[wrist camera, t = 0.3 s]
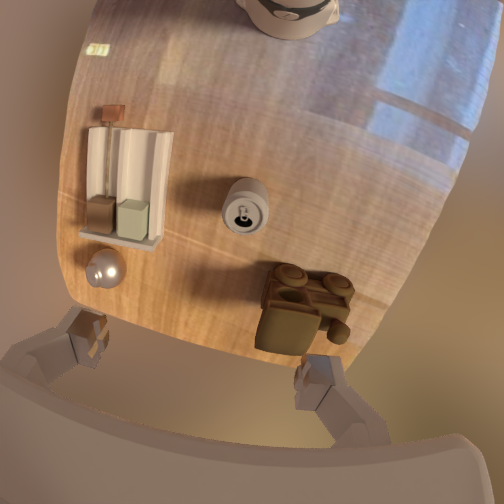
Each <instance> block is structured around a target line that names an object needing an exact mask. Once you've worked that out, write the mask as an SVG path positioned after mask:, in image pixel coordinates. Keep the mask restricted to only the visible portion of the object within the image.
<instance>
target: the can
mask: <svg viewBox="0 0 504 504" xmlns="http://www.w3.org/2000/svg"><path fill="white" fill-rule="evenodd" d="M268 216H269V203H268V193H267V189H266V188H265V186H264V185H263V184H262V183H261V182H260V181H259V180H256V179H254V178H243V179H239V180H238V181H236V182H235V183H234V184H233V185H232V186H231V188H230V190H229V193H228V195H227V197H226V200H225V202H224V205H223V207H222V218H223V221H224V223H225V224H226V226H227V227H228V228H229V229H230V230H231V231H233V232H234V233H237V234H239V235H251V234H255V233H257V232H258V231H260V230H261V229H262V228H263V227H264V226H265V225H266V223H267V220H268Z"/></svg>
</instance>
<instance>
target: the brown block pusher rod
mask: <svg viewBox="0 0 504 504" xmlns="http://www.w3.org/2000/svg"><path fill="white" fill-rule="evenodd" d="M124 108H125V105H103V112H102V121H109V131H108V143H107V157H106V179H105V195H100V194H98V195H97V196H95V197H94V198H92V199H91V200H89V201H87V228H88V230H89V231H94V232H99V233H104V234H109V233H110V232H111V231H112V230H113V229H115V228H116V206H117V197H113V196H108V191H109V165H110V149H111V137H112V126H113V121H119V120H123V116H124Z"/></svg>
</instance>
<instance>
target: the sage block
mask: <svg viewBox="0 0 504 504" xmlns="http://www.w3.org/2000/svg"><path fill="white" fill-rule="evenodd" d="M149 214H150V202H145V201H139V200H133V199H128V200H127V201H125V202H124V203H123V204H121V205H120V206H119V207H118V236H120V237H125V238H130V239H135V240H140V241H141V240H142V239H143V238H144V237H145V235H146V234H147V233H148V232H149Z"/></svg>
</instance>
